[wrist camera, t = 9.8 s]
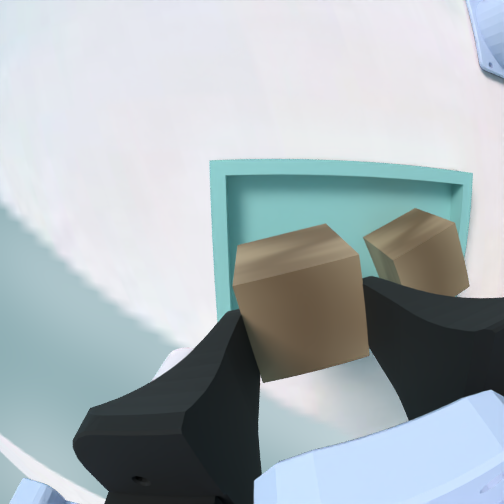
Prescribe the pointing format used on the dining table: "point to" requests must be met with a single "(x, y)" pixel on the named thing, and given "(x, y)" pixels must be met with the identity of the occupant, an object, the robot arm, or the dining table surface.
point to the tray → (322, 204)
